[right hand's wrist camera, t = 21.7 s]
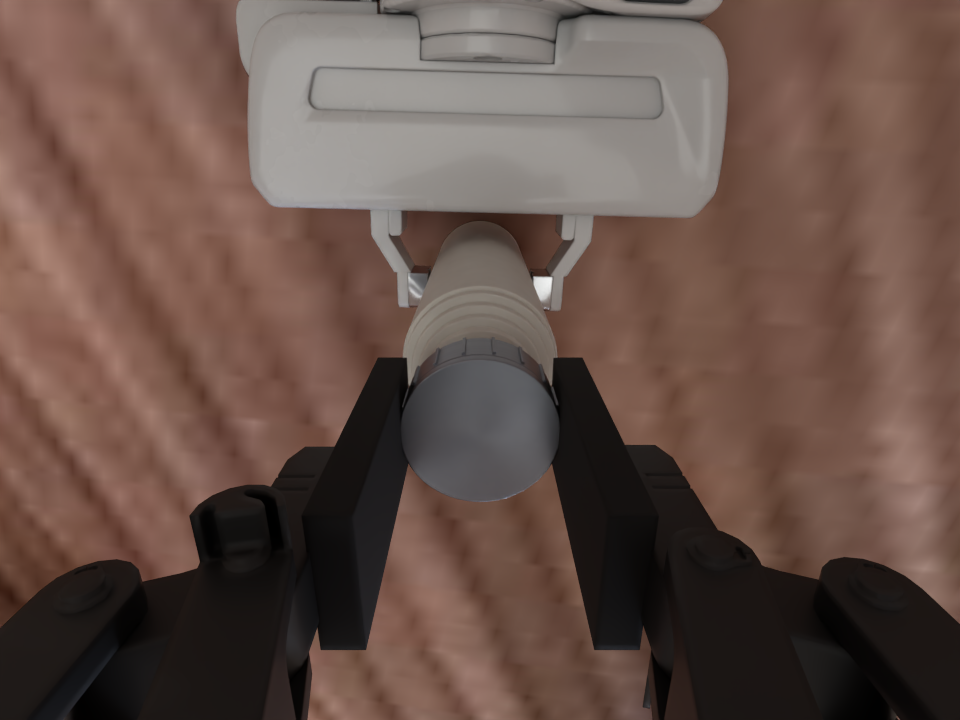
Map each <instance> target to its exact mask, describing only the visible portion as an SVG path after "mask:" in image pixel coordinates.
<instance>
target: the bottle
mask: <svg viewBox="0 0 960 720" xmlns="http://www.w3.org/2000/svg"><path fill="white" fill-rule="evenodd" d="M465 337H466V339H471V338H489V339H492V337H495V339H496V340H500V341H504V342H507V343H509V344H512V345H514V346H516V347H519V346H520V347H522V350H523V351H524V352H526V353H527V354H529V355H530V356H531V357H532V358H533V359H534V360H535V361H536V362H537V363H538V364H542V366H543V369H544V373H545V374H546V376H547V378H548V380H549V383H550V386H551V385H552V374H553V358H557V346H556V342H555V338H554V335H553V332H552V330H551V327H550V325H549V322H548V320H547V317H546V314H545V312H544V309H543V307H542V304H541V302H540V299H539V297H538V294H537V292H536V289H535V287H534V284H533V282H532V279H531V277H530V274H529V271H528V269H527V266H526V264H525V261H524V259H523V256H522V254H521V251H520V249H519V246H518V244H517V242H516V240H515V239H514V238H513V236H512V235H511V234H510V233H509V232H508V231H507V230H505V229H504V228H503V227H501V226H499V225H497V224H495V223H491V222H487V221H473V222H469V223H465V224H463V225H461V226H459V227H457V228H456V229H455V230H453V231H452V232H451V233H450V234H449V235H448V236H447V238H446V239H445V241H444V242H443V244H442V246H441V249H440V251H439V254H438V257H437V259H436V262H435V264H434V267H433V269H432V272H431V274H430V277H429V279H428V282H427V285H426V287H425V290H424V292H423V295H422V297H421V300H420V302H419V305H418V307H417V310H416V313H415V315H414V318H413V320H412V323H411V325H410V328H409V330H408V333H407V335H406V339H405V343H404V348H403V358H407V367H408V384H409V386H410V384H411V381H412V379H413V377H414V374H415V371H416V367H417V366H421V364H422V363H423V362H424V361H425V360H426V359H427V358H428V357H429V356H430V355H432V354H433V353H434V352H436V349H437V348H438V347H439V348H440V349H441V348H442V347H444V346H446V345H448V344H451V343H453V342H457V341H460V340H463V338H465Z"/></svg>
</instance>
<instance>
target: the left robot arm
mask: <svg viewBox="0 0 960 720" xmlns="http://www.w3.org/2000/svg"><path fill="white" fill-rule="evenodd" d="M722 1H723V0H380V5H379V0H329V1H328V0H240V1H239V2H238V5H237V10H236V25H237V33H238V42H239V50H240V57H241V60H242V64H243V67H244V69H245V71H246V73H247V75H248V76H249V84H248V151H249V167H250V176H251V181H252V183H253V185H254V187H255V188H256V189H257V190H258V191H259V193H260V194H261V195H262V196H263V197H264V198H265V200H266V201H267V202H268V203H269V204H270V205H272V206H274V207H291V208H328V209H365V210H370V214H371V235H372V237H373V239H374V240H375V242H376V243H377V245H378V247H379V248H380V250H381V251H382V253H383V255H384V256H385V258H386V260H387V261H388V263H389V264H390V266H391V268H392V269H393V271H394V272H397V287H398V305H399V307H407V308H409V307H418V305H419V302H420V300H421V297H422V295H423V292H424V290H425V287H426V285H427V282H428V279H429V277H430V274H431V266H418V265H415V264H414V262H413V260H412V258H411V257H410V255H409V253H408V251H407V250H406V248H405V246H404V244H403V243H402V241H401V239H400V237H399V235H400V234H401V233H402V232H403V231H404V230H405V229H406V228H407V211H439V212H476V213H513V214H550V215H556V232H557V233H558V235H559V236H560V237H561V238H562V239H563V242H562V243H561V245H560V246H559V248H558V250H557V251H556V253H555V254H554V256H553V257H552V259H551V261H550V262H549V264H548V265H547V267H546V269H530V277H531V279H532V282H533V284H534V287H535V289H536V292H537V294H538V297H539V299H540V302H541V304H542V307H543V309H544V311H560V309H561V304H562V292H563V280H564V277H567V275H568V274H569V272H570V271H571V269H572V268H573V267H574V265H575V264H576V262H577V261H578V259H579V258H580V257H581V255H582V254H583V252H584V251H585V249H586V248H587V247H588V245H589V244H590V242H591V237H592V228H593V219H594V216H624V217H661V218H692V217H694V216H696V215H697V214H698V213H699V212H700V211H701V210H702V209H703V208H704V207H705V206H706V204H707V203H708V202H709V201H710V200H711V199H712V198H713V196H714V195H715V192H716V190H717V186H718V181H719V177H720V171H721V165H722V158H723V150H724V142H725V133H726V121H727V106H728V65H727V59H726V55H725V51H724V48H723V46H722V44H721V42H720V40H719V39H718V37H717V36H716V34H715V33H714V32H713V31H712V30H711V29H709V28H708V27H707V26H705V25H703V24H701V23H700V22H701V21H703V20H704V19H706V18H707V17H708V16H710V15H711V14H712V13H713V12H714V11H715V10H716V9H717V8H718V7H719V6H720V5H721V3H722ZM380 12H381V13H380Z"/></svg>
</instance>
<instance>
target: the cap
mask: <svg viewBox="0 0 960 720" xmlns="http://www.w3.org/2000/svg"><path fill="white" fill-rule="evenodd" d="M557 408H558V401H557V398H556V395H555V391H554V388H553V387H551V386H550V383H549V380H548V378H547V376H546V374H545V373H544V369H543V366H542V364H538V363H537V362H536V361H535V360H534V359H533V358H532V357H531V356H530V355H529V354H527V353H526V352H524V351H523V350H522V347H520V346H519V347H516V346H514V345H512V344H509V343H507V342H504V341H500V340H496V339H495V337H492V339H489V338H471V339H466V337H465V338H463V340H460V341H457V342H453V343H451V344H448V345H446V346H444V347H442V348H441V349H440V348H439V347H438V348H437V349H436V352H434V353H433V354H432V355H430V356H429V357H428V358H427V359H426V360H425V361H424V362H423V363H422V364H421V366H417V367H416V371H415V374H414V377H413V379H412V381H411V384H410V386H409V389H407V392H406V395H405V399H404V402H403V405H402V413H401V418H400V425H401V442H402V450H403V453H404V455H405V458H406V460H407V461H408V463H409V465H410V467H411V468H412V469H413V470H414V472H415V473H416V474H417V475H418V476H419V477H420V478H421V479H422V480H423V481H424V482H425V483H426V484H428V485H429V486H430V487H432V488H433V489H435V490H437V491H438V492H440V493H443V494H445V495H447V496H450V497H453V498H456V499H460V500H465V501H474V502H488V501H495V500H500V499H504V498H508V497H510V496H513V495H516V494H518V493H520V492H522V491H524V490H525V489H527V488H528V487H530V486H531V485H533V484H534V483H535V482H536V481H537V480H539V479H540V478H541V477H542V476H543V474H544V473H545V472H546V471H547V470H548V468H549V467H550V465H551V464H552V462H553V460H554V458H555V456H556V454H557V451H558V447H559V432H560V417H559V413H558V409H557Z"/></svg>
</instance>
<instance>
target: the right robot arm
mask: <svg viewBox="0 0 960 720" xmlns="http://www.w3.org/2000/svg"><path fill="white" fill-rule="evenodd" d="M552 387H553V388H554V391H555V395H556V398H557V401H558V408H557V409H558V413H559V417H560V432H559V447H558V451H557V454H556V456H555V458H554V460H553V462H552V465H553V470H554V474H555V479H556V483H557V487H558V492H559V496H560V501H561V505H562V509H563V514H564V518H565V523H566V527H567V531H568V536H569V540H570V545H571V549H572V553H573V558H574V562H575V567H576V571H577V575H578V580H579V584H580V589H581V593H582V597H583V602H584V606H585V611H586V615H587V619H588V624H589V628H590V633H591V637H592V641H593V646H594V650H640V643H641V636H642V630H643V626H644V629H645V632H646V635H647V637H648V640H649V643H650V646H651V649H652V650H651V656H650V663H649V669H648V675H647V682H646V688H645V695H644V702H643V707H644V708H650V705H651V708H652V717H653V720H898V719H897V718H896V716H898V717H899V719H900V720H960V624H959V623H958V622H957V621H956V620H955V619H954V618H953V617H952V616H951V615H949V614H948V613H947V612H946V611H945V610H944V609H943V608H942V607H941V606H940V605H939V604H938V603H937V602H936V601H935V600H934V599H932V598H931V597H930V596H929V595H928V594H927V593H926V592H925V591H924V590H923V589H922V588H920V587H919V586H918V585H916V584H915V583H914V582H912V581H911V580H910V579H908V578H907V577H906V576H904V575H902V574H900V573H898V572H896V571H894V570H892V569H890V568H888V567H886V566H884V565H881V564H878V563H875V562H872V561H868V560H865V559H858V558H848V557H843V558H838V559H833V560H830V561H829V562H828V563H826V564H825V565H824V566H823V567H822V570H821V574H820V577H819V580H817V579H813V578H808V577H804V576H800V575H795V574H791V573H786V572H782V571H778V570H774V569H771V568H768V567H764V566H762V565H761V563H760V561H759V559H758V558H757V556H756V555H755V553H754V552H753V550H752V549H751V548H749V547H748V546H747V545H746V544H744V543H743V542H742V541H740V540H739V539H737V538H735V537H733V536H731V535H729V534H727V533H725V532H722V531H718V530H717V528H716V526H715V525H714V523H713V522H712V520H711V518H710V517H709V515H708V513H707V512H706V510H705V509H704V507H703V505H702V504H701V502H700V501H699V499H698V497H697V496H696V494H695V493H694V491H693V489H690V485H689V483H688V481H687V480H686V478H685V477H684V476H682V472H681V470H680V468H679V467H678V465H677V464H676V462H675V460H674V459H673V458H672V457H671V456H670V455H668V454H667V453H665V452H664V451H663V450H661V449H660V448H659V447H657V446H656V445H625V444H624V442H623V440H622V438H621V436H620V434H619V432H618V430H617V428H616V426H615V424H614V422H613V420H612V418H611V416H610V414H609V412H608V410H607V408H606V405H605V403H604V401H603V399H602V397H601V395H600V393H599V391H598V389H597V387H596V385H595V383H594V381H593V379H592V377H591V375H590V373H589V371H588V368H587V366H586V364H585V362H584V360H583V358H553V374H552ZM407 389H409V386H408V367H407V358H378V359H377V361H376V363H375V365H374V367H373V369H372V371H371V373H370V375H369V377H368V380H367V382H366V384H365V386H364V388H363V390H362V392H361V394H360V396H359V398H358V400H357V402H356V404H355V406H354V408H353V410H352V412H351V414H350V417H349V419H348V421H347V423H346V425H345V427H344V429H343V431H342V433H341V435H340V437H339V439H338V441H337V443H336V445H335V447H304V448H303V449H302V450H300V451H299V452H298V453H296V454H295V455H293V456H292V457H291V458H289V459H288V460H287V462H286V463H285V465H284V466H283V468H282V470H281V471H280V473H279V475H278V478H276V479H275V481H274V483H273V484H272V486H271V487H269V486H266V485H244V486H239V487H234V488H229V489H227V490H225V491H222V492H220V493H217V494H215V495H212V496H211V497H209V498H208V499H206V500H205V501H203V502H202V503H200V504H199V505H198V506H197V507H196V508H195V510H194V511H193V512H192V513H191V515H190V521H191V525H192V529H193V533H194V538H195V542H196V546H197V550H198V555H199V559H200V564H199V566H198V568H197V569H194V570H190V571H187V572H184V573H180V574H176V575H171V576H167V577H162V578H158V579H153V580H149V581H144V582H142V579H141V576H140V572H139V569H137V568H136V567H135V566H134V565H133V564H132V563H131V562H127V561H122V560H117V559H116V560H106V561H97V562H94V563H91V564H88V565H84V566H81V567H78V568H76V569H74V570H72V571H70V572H68V573H66V574H64V575H62V576H60V577H58V578H56V579H55V580H53V581H52V582H51V583H49V584H48V585H47V586H46V587H44V588H43V589H42V590H40V591H39V592H38V593H37V594H36V595H35V596H34V597H33V598H32V599H31V600H29V601H28V602H27V603H26V604H25V605H24V606H23V607H22V608H21V609H20V610H19V611H18V612H17V613H16V614H15V615H14V616H13V617H12V618H10V619H9V620H8V621H7V622H6V623H5V624H4V625H3V626H2V627H1V628H0V720H307V719H308V709H309V699H310V689H311V679H312V670H311V663H310V656H309V650H310V647H311V644H312V641H313V638H314V635H315V632H316V630H317V627H318V634H319V641H320V648H321V650H366V647H367V643H368V639H369V634H370V630H371V625H372V621H373V617H374V612H375V608H376V603H377V599H378V595H379V590H380V586H381V581H382V577H383V573H384V568H385V564H386V559H387V555H388V551H389V546H390V542H391V537H392V533H393V529H394V524H395V520H396V515H397V511H398V507H399V502H400V498H401V493H402V489H403V485H404V480H405V476H406V471H407V467H408V461H407V460H406V458H405V455H404V453H403V450H402V442H401V425H400V418H401V413H402V405H403V402H404V399H405V395H406V392H407Z"/></svg>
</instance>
